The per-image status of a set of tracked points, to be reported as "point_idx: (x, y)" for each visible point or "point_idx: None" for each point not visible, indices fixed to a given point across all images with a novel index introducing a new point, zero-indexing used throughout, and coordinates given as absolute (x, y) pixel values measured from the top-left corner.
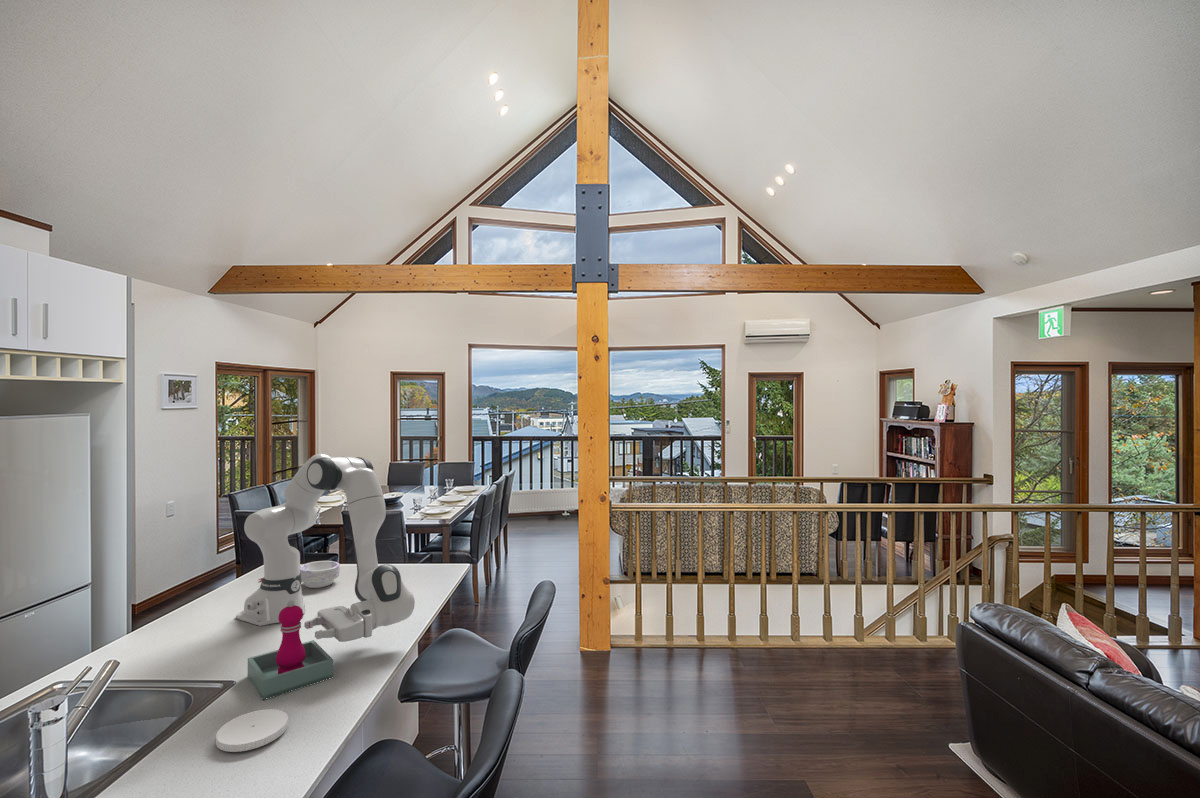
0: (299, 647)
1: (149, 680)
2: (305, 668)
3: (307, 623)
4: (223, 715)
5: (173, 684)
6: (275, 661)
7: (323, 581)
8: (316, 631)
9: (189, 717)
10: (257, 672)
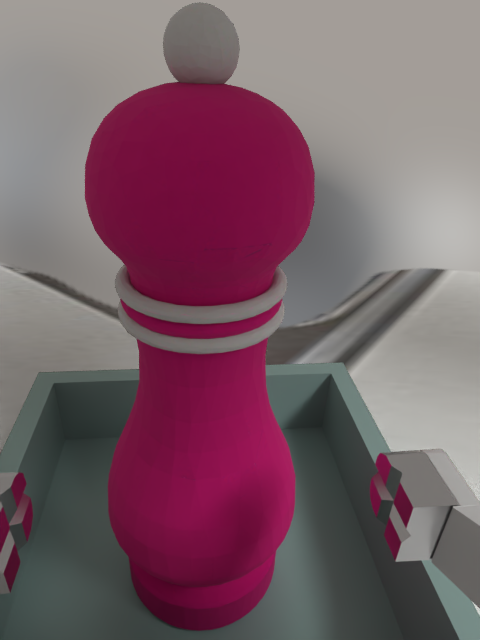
0: (133, 465)
1: (421, 290)
2: None
3: (387, 462)
4: (67, 359)
5: (372, 311)
6: (356, 487)
7: None
8: (6, 476)
9: None
10: None
